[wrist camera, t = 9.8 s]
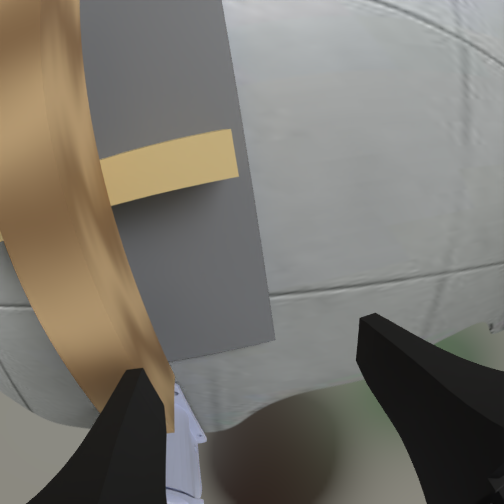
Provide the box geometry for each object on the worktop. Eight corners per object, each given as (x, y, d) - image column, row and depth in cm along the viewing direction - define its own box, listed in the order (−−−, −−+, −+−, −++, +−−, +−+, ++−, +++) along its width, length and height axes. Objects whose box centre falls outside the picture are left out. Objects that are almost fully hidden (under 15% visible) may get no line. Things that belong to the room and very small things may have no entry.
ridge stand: (272, 331, 21) (289, 374, 17) (75, 365, 20) (61, 406, 16) (210, -47, 10) (216, -87, 6) (-18, 39, 9) (-55, 29, 5)
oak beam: (174, 376, 16) (174, 432, 12) (127, 382, 15) (119, 436, 12) (80, -32, 6) (49, -70, 3) (25, -5, 6) (-16, -31, 3)
